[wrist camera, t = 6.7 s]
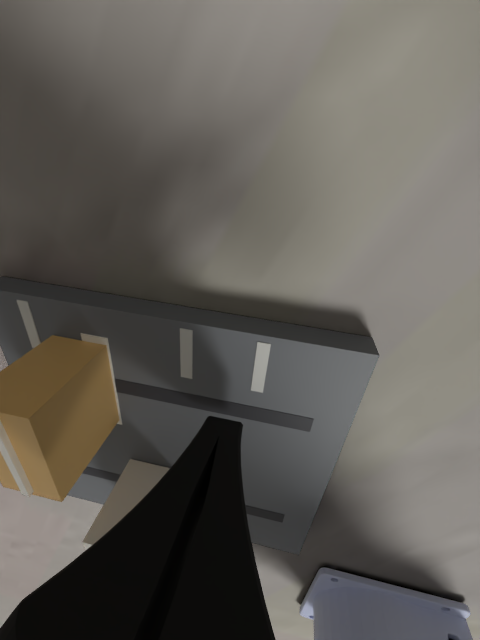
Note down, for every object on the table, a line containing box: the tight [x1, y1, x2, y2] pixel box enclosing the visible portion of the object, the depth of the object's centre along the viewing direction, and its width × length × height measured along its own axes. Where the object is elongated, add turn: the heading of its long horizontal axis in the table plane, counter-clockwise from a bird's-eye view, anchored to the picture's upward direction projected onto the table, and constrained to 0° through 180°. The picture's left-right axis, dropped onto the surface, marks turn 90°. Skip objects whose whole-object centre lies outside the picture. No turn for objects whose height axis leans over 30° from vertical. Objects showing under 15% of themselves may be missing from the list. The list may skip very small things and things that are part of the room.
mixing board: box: [0, 277, 379, 555], centre depth 15 cm, size 16×15×1 cm
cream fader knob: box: [83, 459, 170, 550], centre depth 15 cm, size 2×4×4 cm, turn 175°
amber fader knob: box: [0, 335, 119, 502], centre depth 12 cm, size 2×4×4 cm, turn 175°
